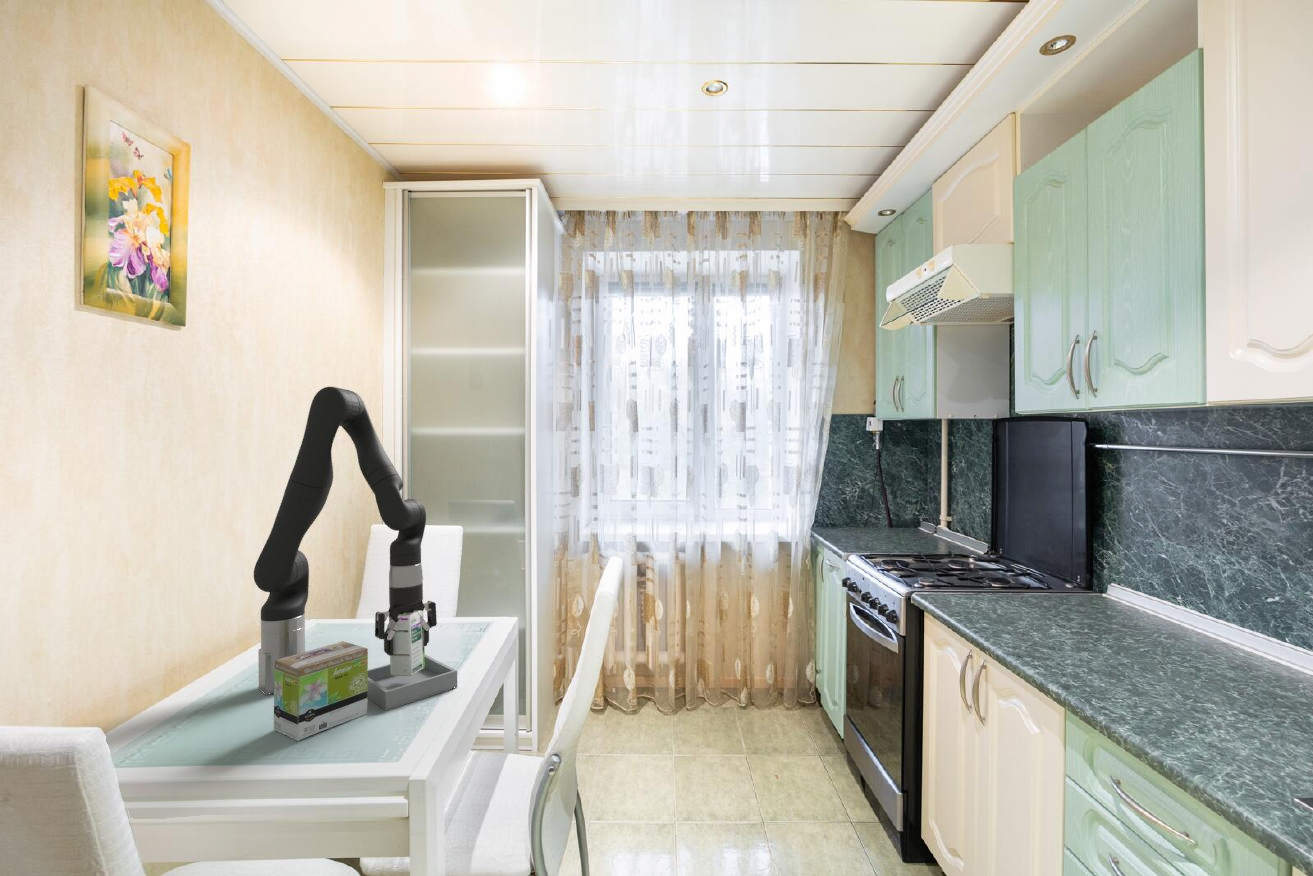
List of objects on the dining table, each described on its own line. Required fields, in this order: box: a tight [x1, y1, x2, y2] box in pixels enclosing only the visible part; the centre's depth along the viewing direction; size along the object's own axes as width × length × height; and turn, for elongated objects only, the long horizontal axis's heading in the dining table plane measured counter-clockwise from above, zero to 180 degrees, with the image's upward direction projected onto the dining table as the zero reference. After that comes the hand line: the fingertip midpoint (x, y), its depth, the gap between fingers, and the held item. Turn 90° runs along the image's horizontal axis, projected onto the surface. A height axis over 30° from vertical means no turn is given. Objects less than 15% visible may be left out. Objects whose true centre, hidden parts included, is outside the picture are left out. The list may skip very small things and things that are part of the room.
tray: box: [367, 654, 458, 711], centre depth 146 cm, size 17×17×4 cm
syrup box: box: [388, 610, 426, 676], centre depth 147 cm, size 6×6×14 cm
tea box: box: [273, 640, 369, 742], centre depth 129 cm, size 15×10×15 cm, turn 148°
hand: (407, 650), depth 147 cm, fingers closed on syrup box, 8 cm apart
